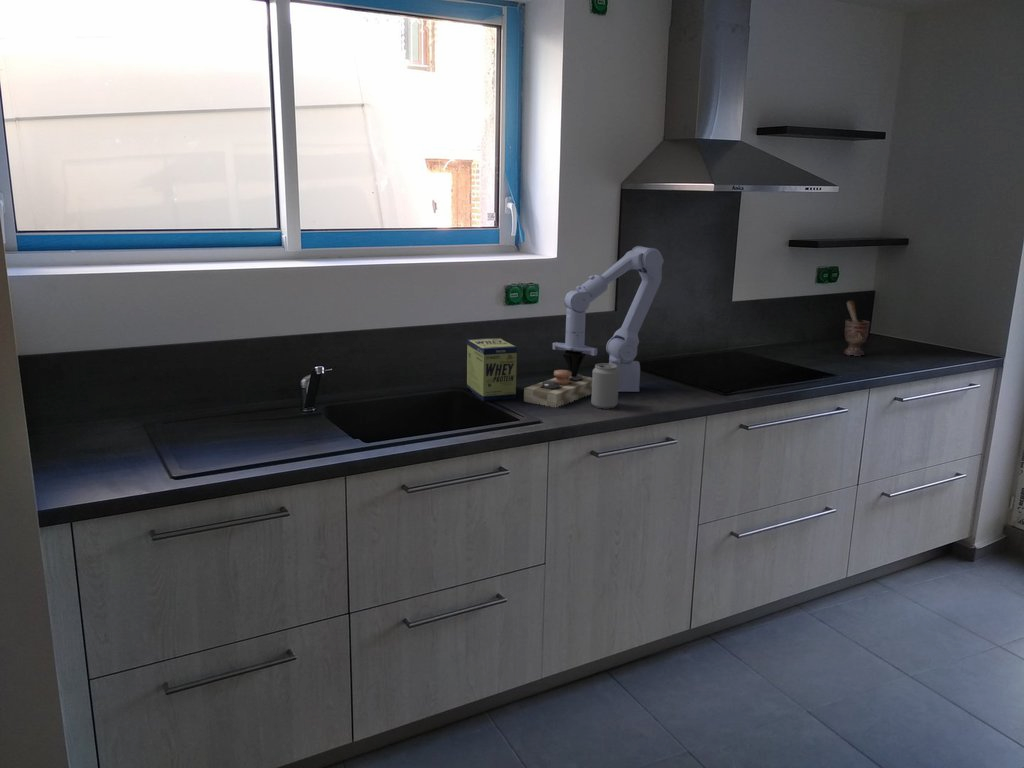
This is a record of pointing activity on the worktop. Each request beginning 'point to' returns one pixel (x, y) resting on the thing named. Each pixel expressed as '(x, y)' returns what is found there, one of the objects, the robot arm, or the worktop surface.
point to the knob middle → (562, 376)
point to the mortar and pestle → (855, 332)
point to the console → (558, 393)
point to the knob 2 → (575, 378)
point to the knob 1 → (550, 385)
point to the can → (605, 386)
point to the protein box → (491, 368)
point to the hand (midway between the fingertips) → (573, 375)
